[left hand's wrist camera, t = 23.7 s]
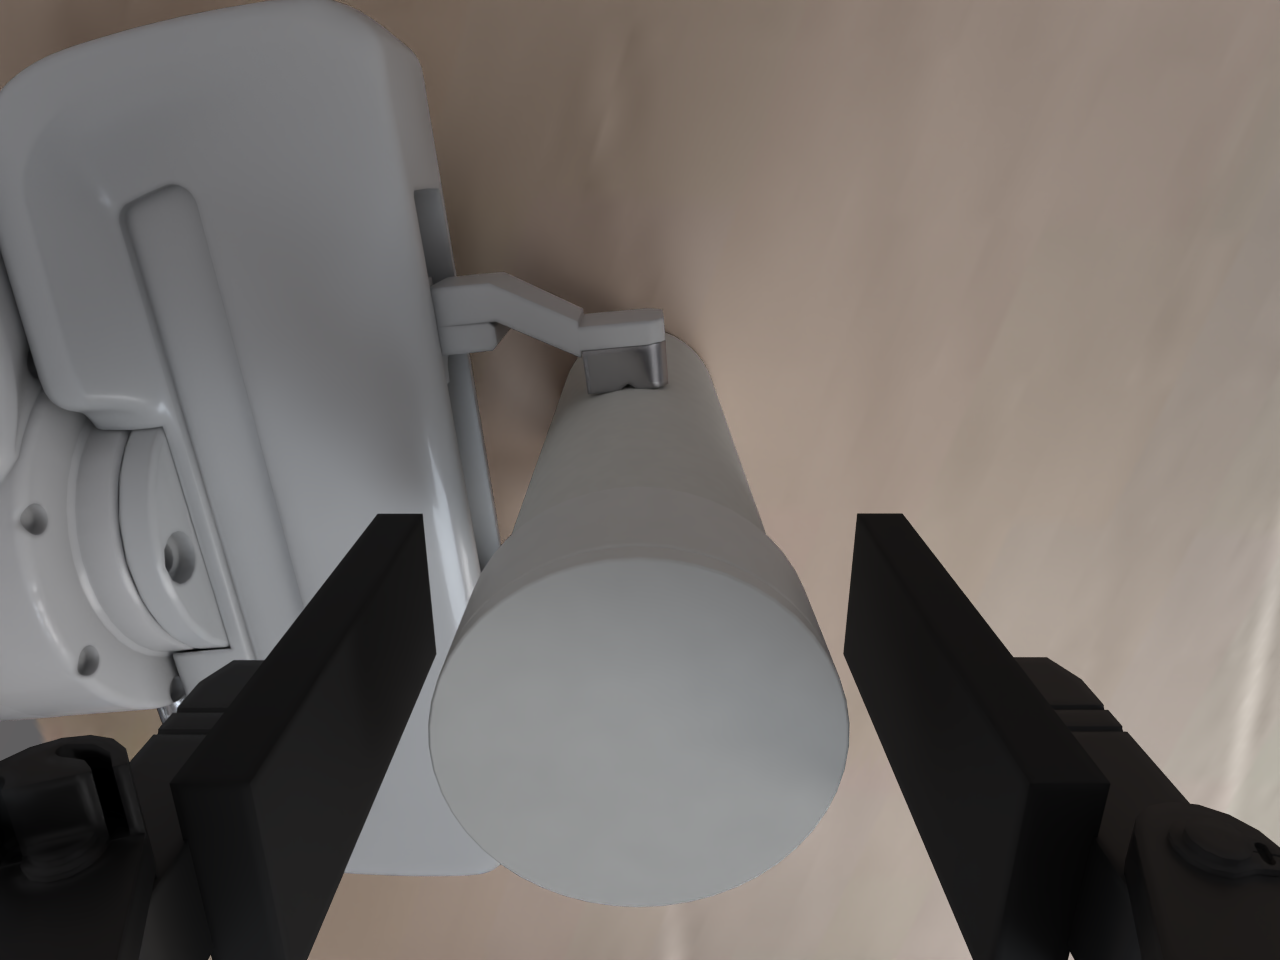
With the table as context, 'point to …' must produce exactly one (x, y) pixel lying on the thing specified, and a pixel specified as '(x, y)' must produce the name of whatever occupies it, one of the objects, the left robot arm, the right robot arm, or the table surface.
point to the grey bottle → (641, 441)
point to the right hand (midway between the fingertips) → (677, 472)
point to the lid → (638, 702)
